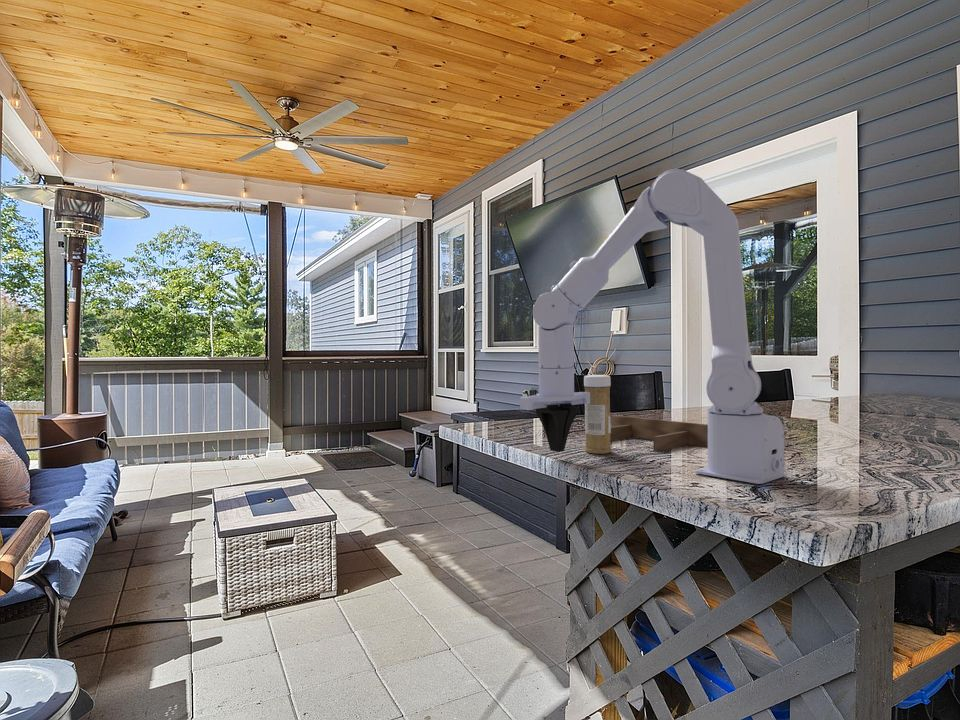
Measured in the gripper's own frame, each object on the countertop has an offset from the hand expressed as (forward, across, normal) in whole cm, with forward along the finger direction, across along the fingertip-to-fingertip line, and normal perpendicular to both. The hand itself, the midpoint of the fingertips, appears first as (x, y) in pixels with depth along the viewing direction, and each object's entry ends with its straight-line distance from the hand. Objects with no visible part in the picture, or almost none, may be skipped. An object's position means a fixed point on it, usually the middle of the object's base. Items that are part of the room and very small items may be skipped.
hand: (557, 450), depth 96 cm
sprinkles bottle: (+2, -10, 0) cm, 10 cm away
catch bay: (+1, -23, 0) cm, 23 cm away
